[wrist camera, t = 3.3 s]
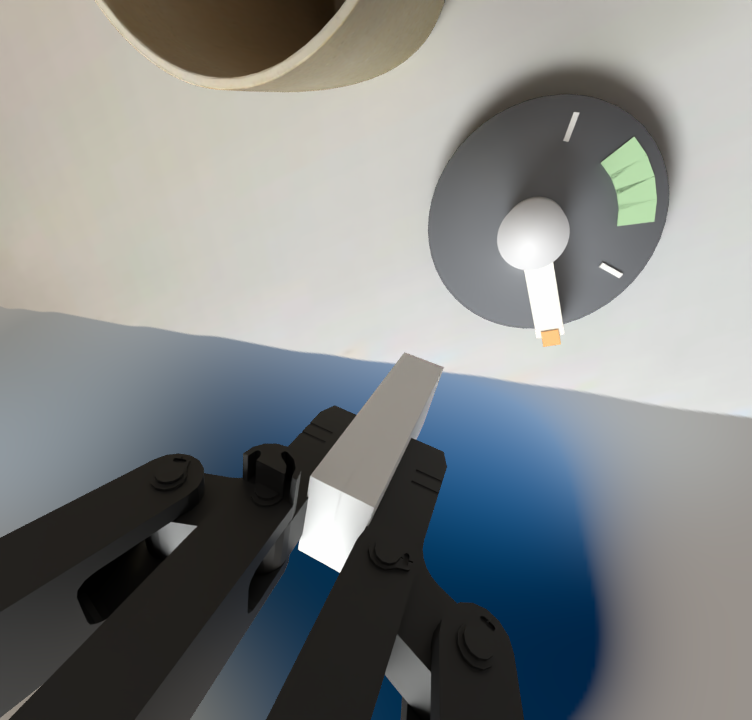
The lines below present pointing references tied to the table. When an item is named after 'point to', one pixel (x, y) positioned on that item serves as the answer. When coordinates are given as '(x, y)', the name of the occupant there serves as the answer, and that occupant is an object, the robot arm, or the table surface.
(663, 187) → the dial base
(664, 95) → the table surface
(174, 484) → the robot arm
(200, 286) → the table surface
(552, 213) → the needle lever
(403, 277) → the table surface
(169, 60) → the plant pot
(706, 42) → the table surface
